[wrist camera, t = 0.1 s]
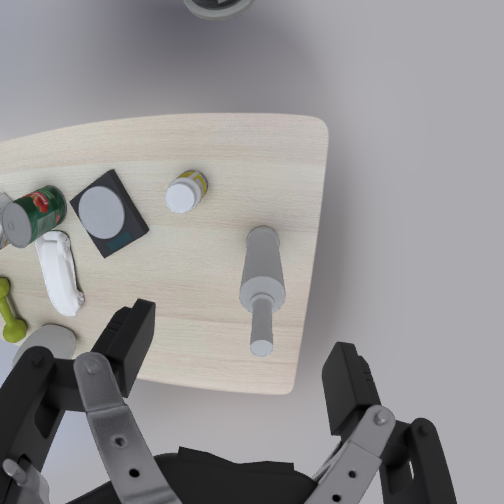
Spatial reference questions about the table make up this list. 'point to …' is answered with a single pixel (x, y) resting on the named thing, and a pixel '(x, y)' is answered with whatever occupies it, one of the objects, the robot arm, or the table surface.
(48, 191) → the canned tomato
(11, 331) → the dumbbell
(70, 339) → the soap bottle
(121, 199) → the scale
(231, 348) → the table surface
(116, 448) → the robot arm
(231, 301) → the table surface
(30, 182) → the table surface
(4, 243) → the container
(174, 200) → the supplement bottle
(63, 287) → the toy car
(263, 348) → the bottle
